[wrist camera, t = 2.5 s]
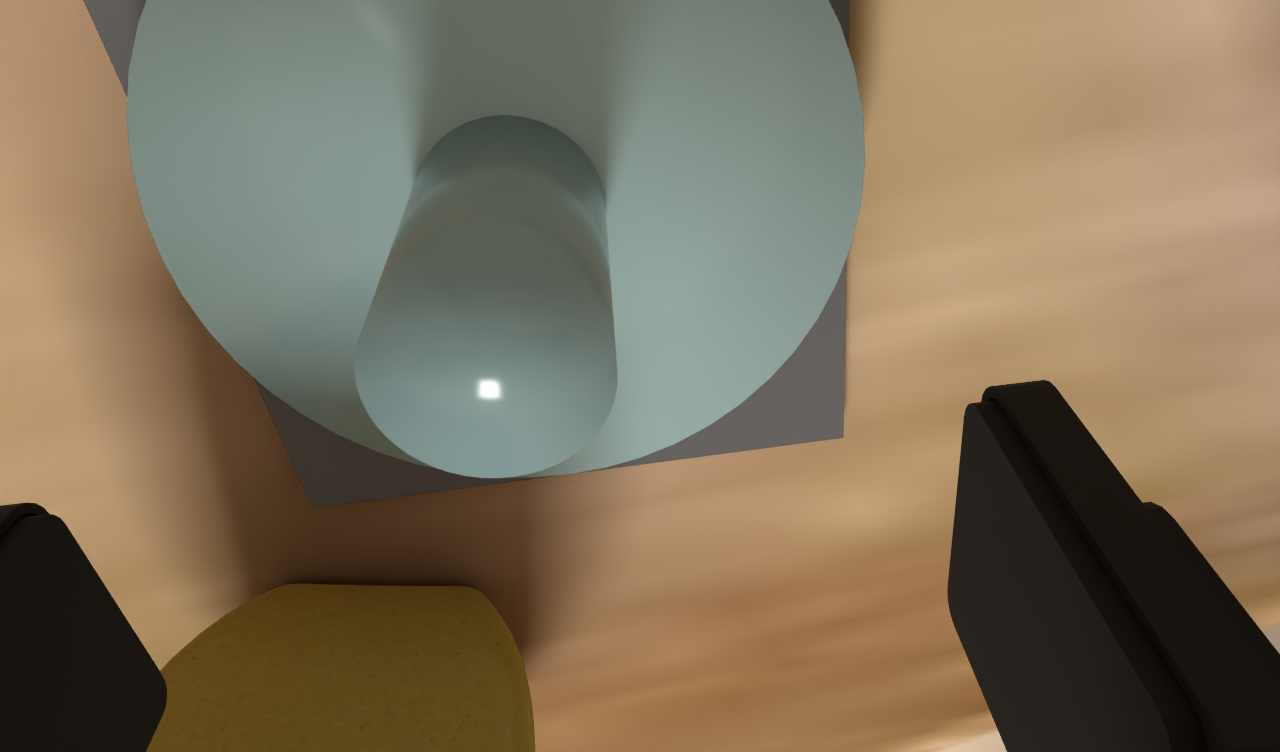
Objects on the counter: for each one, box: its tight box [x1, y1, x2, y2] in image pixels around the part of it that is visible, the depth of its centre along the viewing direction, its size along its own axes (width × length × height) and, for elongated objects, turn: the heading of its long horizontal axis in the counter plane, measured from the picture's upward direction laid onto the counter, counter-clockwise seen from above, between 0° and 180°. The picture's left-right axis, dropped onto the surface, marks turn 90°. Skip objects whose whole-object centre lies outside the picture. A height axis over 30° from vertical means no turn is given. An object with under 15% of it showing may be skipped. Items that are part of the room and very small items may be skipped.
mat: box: [84, 0, 849, 508], centre depth 16 cm, size 14×12×1 cm
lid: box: [127, 0, 865, 478], centre depth 14 cm, size 12×12×6 cm
